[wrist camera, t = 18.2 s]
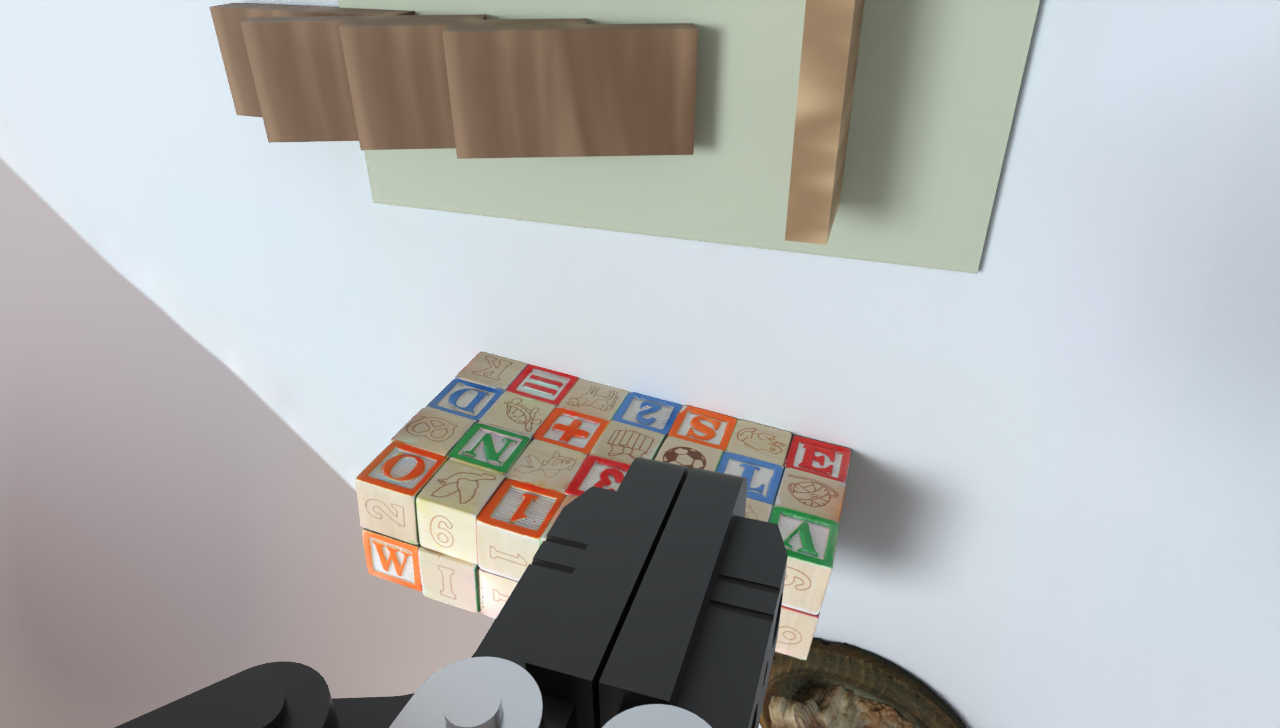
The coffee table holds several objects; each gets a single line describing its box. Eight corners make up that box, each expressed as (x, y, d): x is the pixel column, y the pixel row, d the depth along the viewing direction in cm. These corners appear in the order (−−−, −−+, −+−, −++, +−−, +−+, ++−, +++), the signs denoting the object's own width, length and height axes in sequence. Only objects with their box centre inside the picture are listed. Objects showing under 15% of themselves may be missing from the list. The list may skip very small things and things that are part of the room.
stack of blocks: (855, 443, 42) (828, 624, 31) (829, 533, 45) (797, 721, 35) (478, 349, 46) (349, 479, 36) (480, 436, 49) (362, 578, 39)
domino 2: (482, 19, 34) (240, 22, 34) (493, 137, 37) (268, 142, 36) (485, 14, 36) (253, 17, 35) (496, 128, 38) (279, 133, 38)
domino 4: (697, 29, 32) (442, 31, 32) (693, 154, 35) (457, 158, 34) (693, 23, 33) (448, 25, 33) (689, 144, 36) (462, 148, 35)
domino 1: (394, 15, 35) (209, 6, 38) (411, 130, 38) (236, 114, 41) (414, 10, 37) (233, 3, 39) (429, 122, 39) (258, 107, 42)
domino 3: (587, 24, 33) (338, 26, 33) (591, 145, 36) (360, 150, 35) (586, 18, 35) (348, 21, 34) (590, 135, 37) (368, 140, 37)
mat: (1077, -172, 27) (1079, -173, 27) (976, 270, 35) (977, 273, 35) (315, -158, 35) (309, -158, 35) (377, 200, 43) (373, 202, 43)
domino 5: (860, -48, 26) (826, 245, 31) (871, -57, 30) (839, 202, 35) (810, -48, 26) (784, 240, 31) (827, -57, 30) (802, 199, 36)
